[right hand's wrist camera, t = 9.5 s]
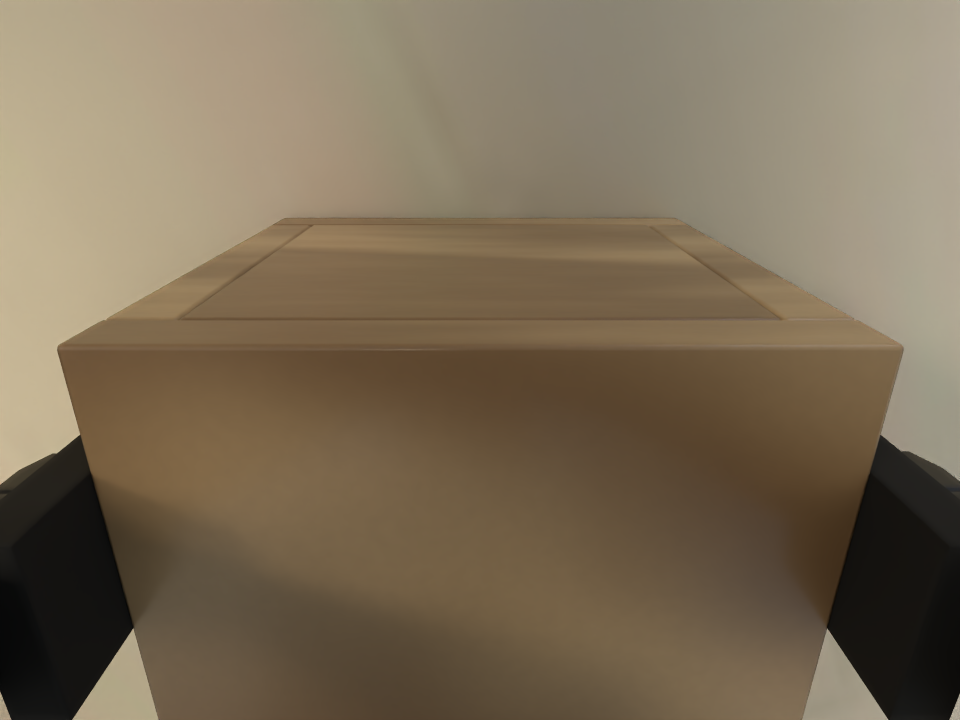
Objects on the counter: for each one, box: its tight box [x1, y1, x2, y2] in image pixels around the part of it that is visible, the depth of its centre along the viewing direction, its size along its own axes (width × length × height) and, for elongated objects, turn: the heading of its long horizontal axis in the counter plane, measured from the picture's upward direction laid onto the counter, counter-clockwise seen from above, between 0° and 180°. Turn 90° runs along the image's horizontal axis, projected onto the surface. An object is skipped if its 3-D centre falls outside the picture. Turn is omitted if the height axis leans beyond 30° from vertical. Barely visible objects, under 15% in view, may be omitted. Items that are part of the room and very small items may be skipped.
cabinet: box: [57, 218, 904, 720], centre depth 15 cm, size 16×10×10 cm, turn 0°
